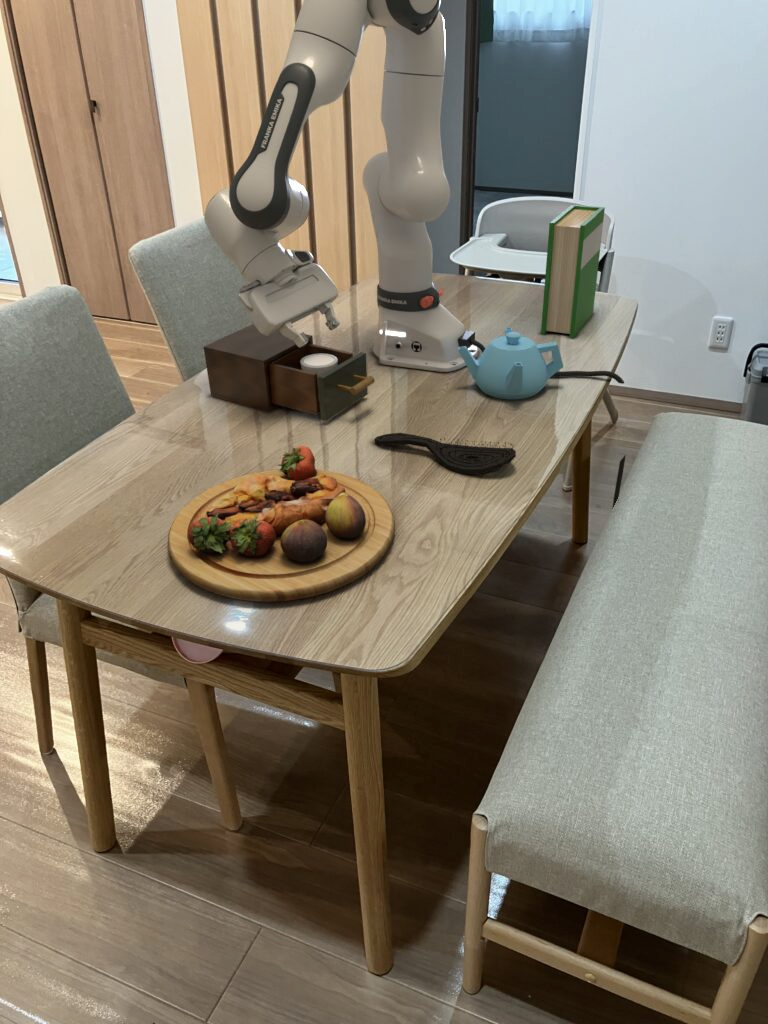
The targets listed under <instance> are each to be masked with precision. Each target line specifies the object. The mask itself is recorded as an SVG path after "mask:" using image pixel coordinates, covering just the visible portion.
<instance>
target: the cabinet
mask: <svg viewBox="0 0 768 1024" xmlns="http://www.w3.org/2000/svg"><path fill="white" fill-rule="evenodd" d="M304 334H305V335H306V337H307V338H308V340H309V341H308V342H307V343H309V344H314V338H313V335H311V334H307V333H304ZM296 348H298V346H297V345H296V343H295V342H294V341H293V340H291V339H289V338H287V337H285V336H283V335H282V334H281V332H280V331H277V332H275V333H273V334H271V335H269V336H266V335H264V334H262V333H260V332H259V331H258V329H257V328H256V326H255V325H254V323H251V324H249V325H247V326H245V327H243V328H241V329H239V330H237V331H235V332H233V333H230V334H228V335H226V336H224V337H221V338H220V339H217V340H214V341H213V342H211V343H208V344H206V345H204V346H203V352H204V353H203V354H204V358H205V367H206V372H207V379H208V387H209V392H210V397H213V398H217V399H220V400H224V401H227V402H232V403H235V404H238V405H241V406H246V407H249V408H252V409H257V410H261V411H264V412H266V413H267V412H268V413H270V412H272V411H273V410H275V409H277V408H279V407H281V406H280V405H277V404H273V403H271V397H270V388H269V379H268V370H267V363H269V362H271V361H273V360H275V359H277V358H278V357H280V356H282V355H284V354H286V353H288V352H290V351H292V350H294V349H296Z"/></svg>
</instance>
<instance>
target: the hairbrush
mask: <svg viewBox="0 0 768 1024" xmlns="http://www.w3.org/2000/svg"><path fill="white" fill-rule="evenodd" d="M373 439H374V444H375V445H378V446H399V445H400V446H403V445H404V446H405V445H409V446H416V447H421V448H426V449H427V450H428V451H429V452H430V453H431V454H432V455H433V456H434V457H435V458H436V459H437V461H438V462H439V463H440V464H441V465H442V466H443V467H445V468H446V469H449V470H450V471H452V472H454V473H458V474H459V473H460V474H464V475H480V474H485V473H488V472H492V471H495V470H499V469H501V468H503V467H504V466H506V465H508V464H510V463H511V462H512V461H513V460H514V459H515V458H516V457H517V455H516V454H517V450H515V449H514V443H509V446H508V447H507V441H505V442H504V446H503V447H501V445H499V443H500V442H499V441H498V442H497V445H498V447H495V446H494V444H495V442H493V444H492V441H489V445H488V446H485V444H484V441H482V440H481V441H480V443H482V444H481V445H480V446H478V445H477V444H475V442H476V443H478V440H476V441H475V440H474V443H473V445H468V444H469V443H468V442H469V440H466V442H465V443H464V445H463V444H462V442H460V443H459V440H460V439H459V438H458V439H457V440H456V444H454V443H453V442H452V441H451V442H450V443H449V442H446V443H444V442H442V438H440V439H439V441H438V440H435V439H432V438H431V437H430V438H429V437H424V436H421V435H416V434H411V433H405V432H393V433H384V434H382V435H378V436H376V437H374V438H373ZM443 439H444V441H445V440H446V438H443ZM452 439H453V441H454V440H455V438H452ZM471 442H473V439H472V440H471ZM485 443H487V441H486V440H485ZM510 446H511V447H510Z"/></svg>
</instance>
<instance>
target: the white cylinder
mask: <svg viewBox="0 0 768 1024" xmlns="http://www.w3.org/2000/svg"><path fill="white" fill-rule="evenodd" d="M300 363H301V368H302V370H304V371H308V372H312V373H316V374H317V383H318V377H319V376H320V375H322V374H324V373H326V372H327V371H329V370H331V369H332V368H334V367H336V366H338V360H337V357H335V356H333V355H330V354H312V355H308V356H306V357H304V358H302V359H301V361H300ZM318 396H319V384H318ZM319 401H320V398H319Z"/></svg>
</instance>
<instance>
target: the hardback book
mask: <svg viewBox="0 0 768 1024" xmlns="http://www.w3.org/2000/svg"><path fill="white" fill-rule="evenodd" d="M605 209H606V207H605V206H593V205H578V204H570V206H569V207H567V208H566V209H564V210H563V211H562V212H561V213H559V214H558V215H557V216H556V217H555V218H553V219H552V220H551V221H550V222H549V225H548V226H549V227H548V236H547V237H548V238H547V248H546V249H547V251H546V263H545V274H544V275H545V276H544V289H543V301H542V313H541V326H540V335H546V334H547V333H548V332H552V333H553V332H554V333H561V334H569V339H574V338H576V336H577V335H578V333H579V332H580V331H581V330H582V329H583V327H584V326H585V325H586V323H587V322H588V321H589V320H590V318H591V317H592V315H593V314H594V307H595V298H596V290H597V282H598V274H599V273H598V272H599V263H600V255H601V245H602V237H603V236H602V235H603V227H604V218H605V211H606V210H605Z"/></svg>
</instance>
